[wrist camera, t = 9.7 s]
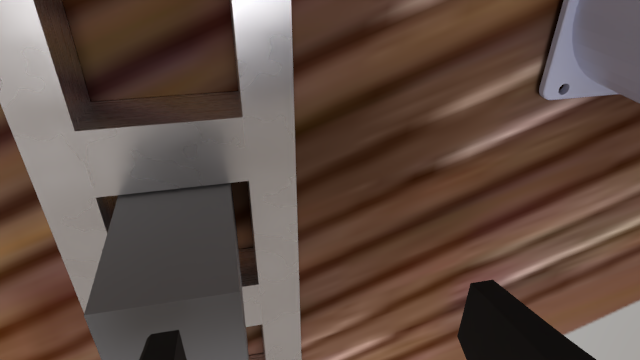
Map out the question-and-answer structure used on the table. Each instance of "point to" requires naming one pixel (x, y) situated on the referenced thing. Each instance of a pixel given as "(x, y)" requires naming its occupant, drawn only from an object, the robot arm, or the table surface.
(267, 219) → the hole rail
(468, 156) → the table surface
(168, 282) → the square peg
